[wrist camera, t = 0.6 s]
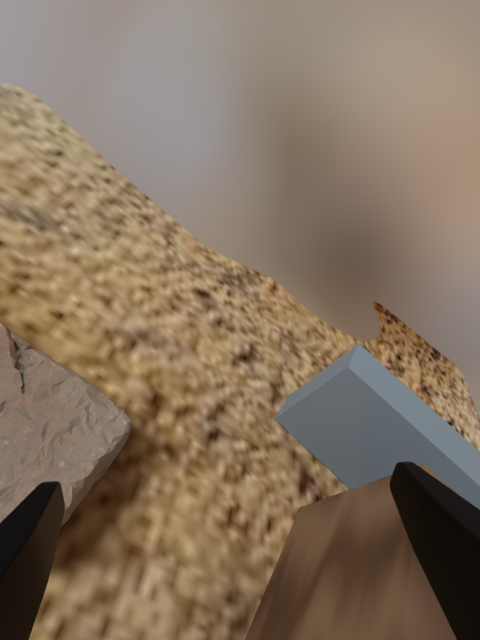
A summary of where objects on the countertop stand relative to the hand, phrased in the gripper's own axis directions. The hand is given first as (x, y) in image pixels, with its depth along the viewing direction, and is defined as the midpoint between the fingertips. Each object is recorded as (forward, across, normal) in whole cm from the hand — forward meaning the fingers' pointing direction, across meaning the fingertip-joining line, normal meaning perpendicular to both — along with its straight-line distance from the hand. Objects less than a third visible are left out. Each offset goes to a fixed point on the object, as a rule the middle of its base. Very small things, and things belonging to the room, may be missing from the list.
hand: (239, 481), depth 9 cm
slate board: (+13, -12, +16) cm, 24 cm away
